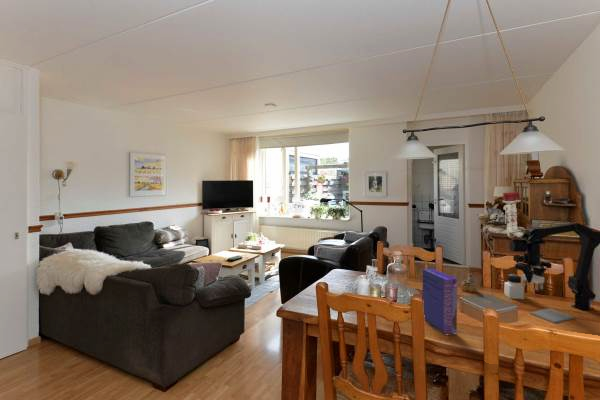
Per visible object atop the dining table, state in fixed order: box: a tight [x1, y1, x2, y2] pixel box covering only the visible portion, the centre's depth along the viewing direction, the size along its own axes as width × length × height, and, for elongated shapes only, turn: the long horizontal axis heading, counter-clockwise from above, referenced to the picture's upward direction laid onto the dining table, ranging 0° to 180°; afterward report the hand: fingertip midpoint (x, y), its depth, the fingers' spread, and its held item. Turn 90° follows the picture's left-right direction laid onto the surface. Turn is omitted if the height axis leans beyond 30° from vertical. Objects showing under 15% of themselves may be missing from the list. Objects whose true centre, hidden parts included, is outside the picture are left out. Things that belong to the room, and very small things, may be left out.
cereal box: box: [422, 267, 458, 335], centre depth 141 cm, size 17×5×24 cm, turn 12°
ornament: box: [460, 274, 478, 294], centre depth 185 cm, size 8×6×10 cm
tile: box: [529, 308, 576, 324], centre depth 150 cm, size 14×11×1 cm
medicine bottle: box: [503, 274, 525, 300], centre depth 175 cm, size 7×7×12 cm
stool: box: [521, 273, 545, 291], centre depth 162 cm, size 5×8×6 cm, turn 19°
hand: (532, 282), depth 162 cm, fingers closed on stool, 5 cm apart
